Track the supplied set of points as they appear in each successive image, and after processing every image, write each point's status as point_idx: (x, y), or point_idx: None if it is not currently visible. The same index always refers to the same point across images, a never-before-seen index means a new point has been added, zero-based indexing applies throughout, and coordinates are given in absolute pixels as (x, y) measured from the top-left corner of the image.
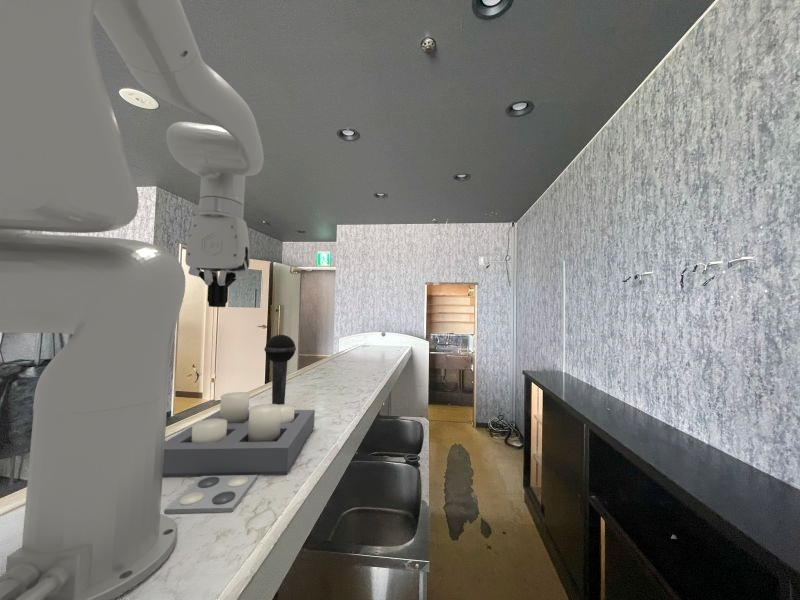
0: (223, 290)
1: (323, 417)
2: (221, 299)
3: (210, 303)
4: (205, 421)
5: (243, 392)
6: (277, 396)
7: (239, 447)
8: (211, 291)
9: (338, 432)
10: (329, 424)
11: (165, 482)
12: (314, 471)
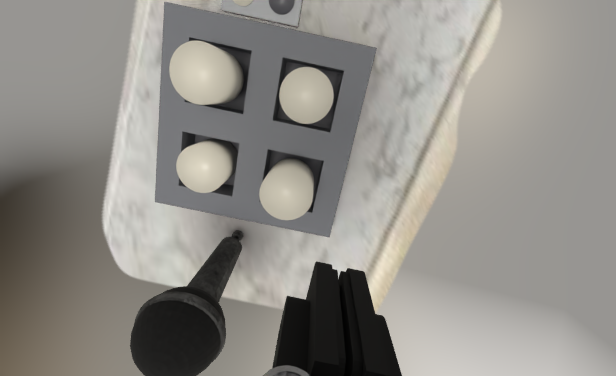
0: (282, 350)
1: (163, 243)
2: (299, 304)
3: (354, 273)
4: (317, 109)
5: (275, 215)
6: (223, 247)
7: (243, 23)
8: (363, 329)
9: (128, 163)
10: (148, 205)
11: (343, 31)
12: (146, 15)
